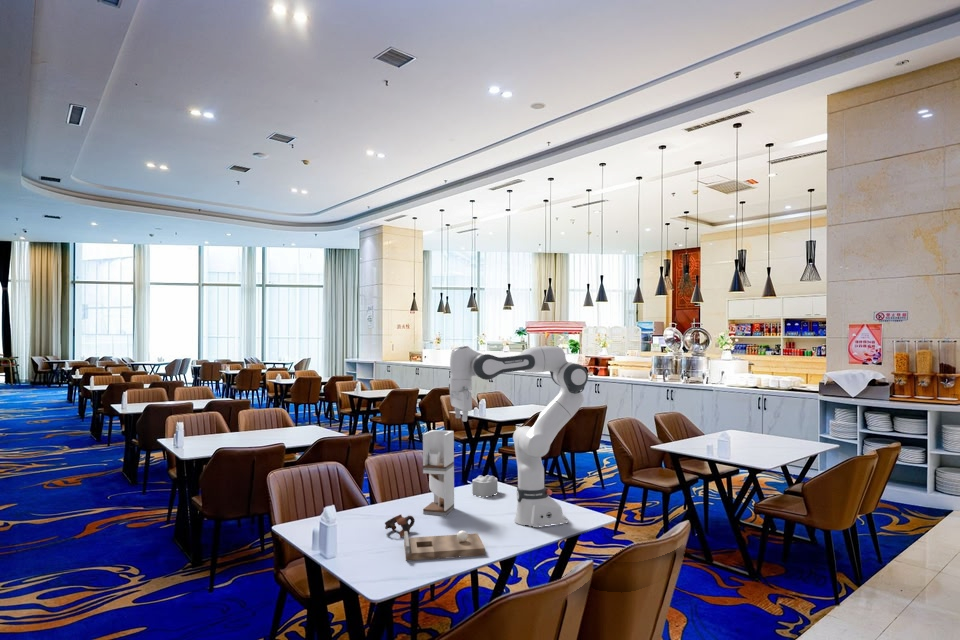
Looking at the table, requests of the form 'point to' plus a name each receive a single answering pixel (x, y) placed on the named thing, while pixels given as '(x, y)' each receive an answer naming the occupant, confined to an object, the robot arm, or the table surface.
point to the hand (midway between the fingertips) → (461, 419)
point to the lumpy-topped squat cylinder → (484, 486)
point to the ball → (462, 536)
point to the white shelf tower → (439, 470)
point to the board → (442, 547)
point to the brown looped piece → (400, 523)
